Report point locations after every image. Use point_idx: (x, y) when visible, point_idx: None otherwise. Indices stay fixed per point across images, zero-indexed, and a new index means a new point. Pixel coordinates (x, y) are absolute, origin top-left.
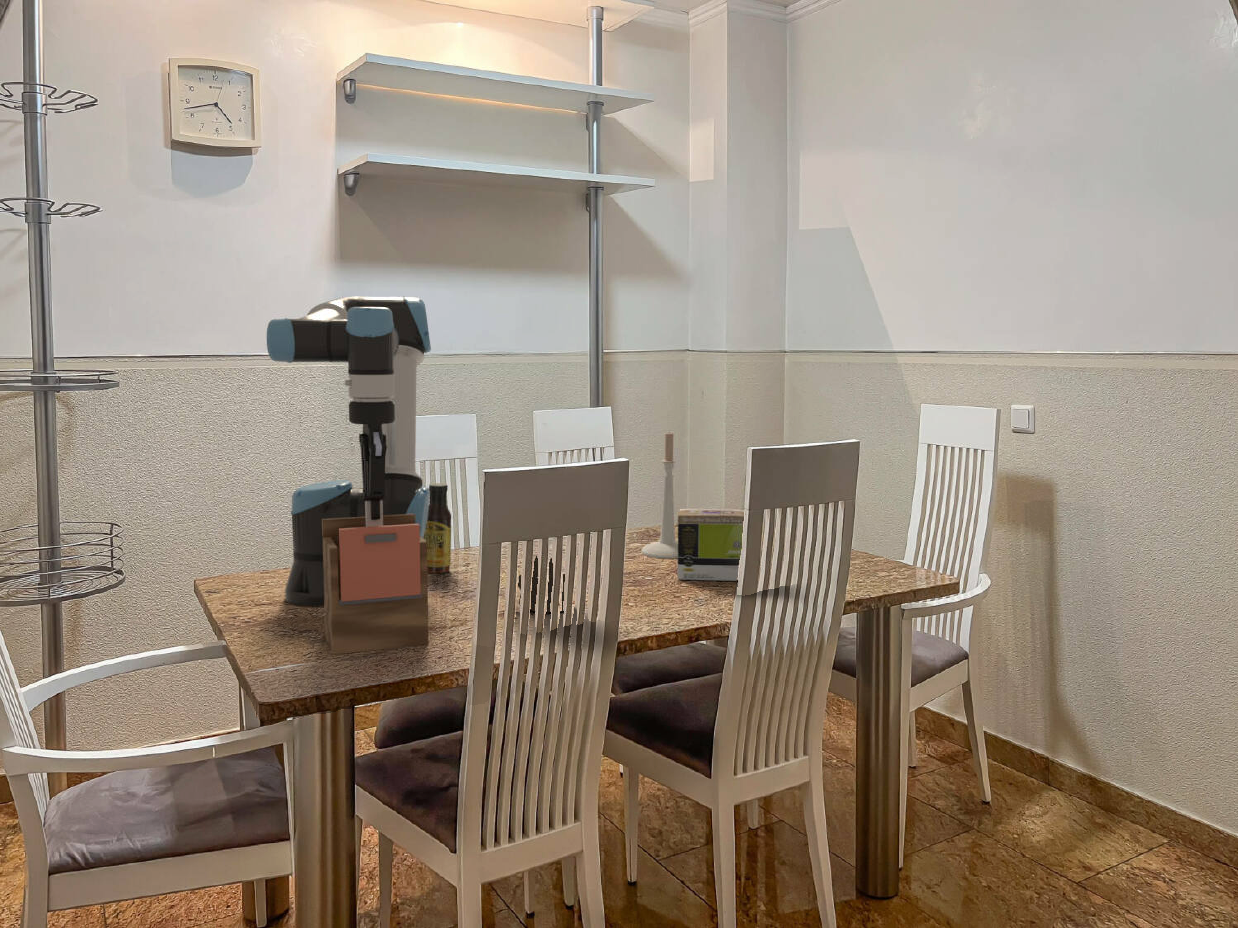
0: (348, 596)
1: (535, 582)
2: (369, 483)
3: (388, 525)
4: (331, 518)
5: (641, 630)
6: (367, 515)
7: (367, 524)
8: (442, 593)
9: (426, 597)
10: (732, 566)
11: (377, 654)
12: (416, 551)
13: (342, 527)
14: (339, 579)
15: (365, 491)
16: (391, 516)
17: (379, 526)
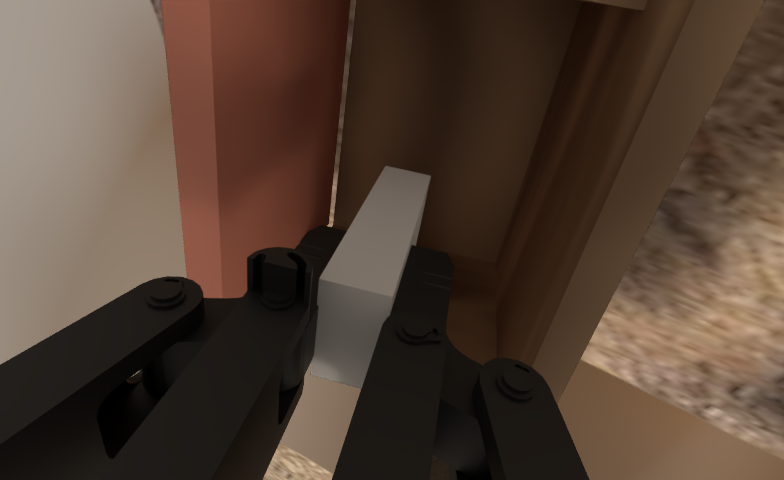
0: None
1: (447, 473)
2: (57, 378)
3: (219, 256)
4: (737, 51)
5: (283, 457)
6: (350, 225)
7: (366, 198)
8: (732, 380)
9: None
10: None
11: (348, 58)
12: None
13: (625, 107)
14: (576, 39)
15: (395, 355)
16: None
17: (203, 208)
